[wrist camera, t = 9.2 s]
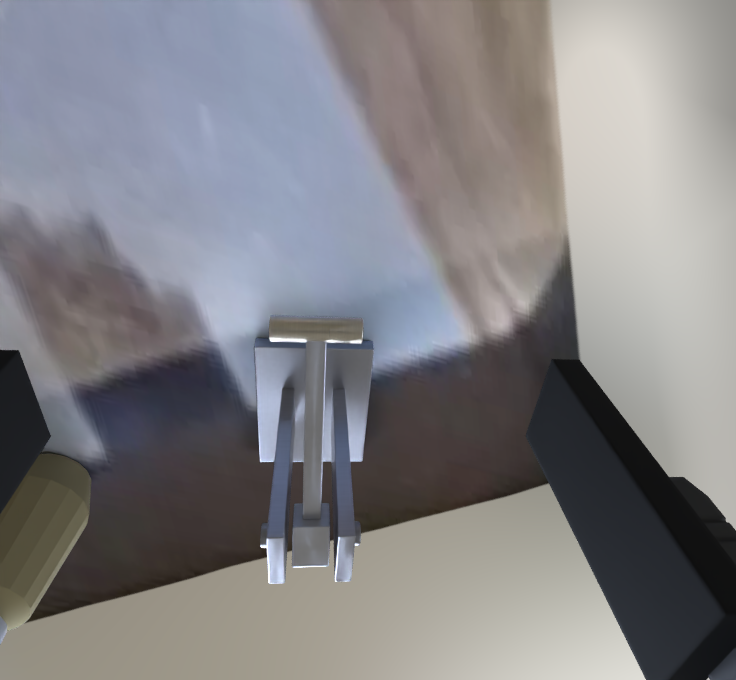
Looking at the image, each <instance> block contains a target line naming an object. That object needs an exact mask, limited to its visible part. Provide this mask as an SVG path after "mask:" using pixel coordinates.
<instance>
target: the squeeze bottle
mask: <svg viewBox="0 0 736 680" xmlns="http://www.w3.org/2000/svg"><path fill="white" fill-rule="evenodd" d="M90 492H91V478H90V476H89V474H88V471H87V470H86V469H85V468H84V467H83V466H81V465H80V464H79V463H78V462H76V461H74V460H72V459H70V458H68V457H66V456H61V455H56V454H51V453H49V454H39V456H38V457H37V459H36V460H35V462H34V463H33V465H32V466H31V468H30V469H29V471H28V472H27V474H26V475H25V477H24V479H23V480H22V482H21V483H20V485H19V486H18V488H17V489H16V491H15V492H14V494H13V495H12V497H11V499H10V500H9V502H8V503H7V505H6V506H5V508H4V509H3V511H2V512H1V514H0V644H1V642H2V640H3V638H4V636H5V634H6V632H7V631H9V630H12V629H14V628H17V627H19V626H21V625H23V624H24V623H25V622H26V621H27V620H28V619H29V618H30V617H31V615H32V613H33V612H34V610H35V608H36V607H37V605H38V604H39V602H40V600H41V599H42V597H43V595H44V594H45V592H46V590H47V589H48V587H49V586H50V584H51V582H52V581H53V579H54V577H55V576H56V574H57V573H58V571H59V569H60V568H61V566H62V564H63V563H64V561H65V559H66V558H67V556H68V555H69V553H70V551H71V550H72V548H73V546H74V545H75V543H76V541H77V540H78V538H79V537H80V535H81V533H82V532H83V530H84V528H85V527H86V525H87V521H88V516H89V508H90Z"/></svg>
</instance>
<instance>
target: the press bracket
mask: <svg viewBox="0 0 736 680" xmlns="http://www.w3.org/2000/svg"><path fill="white" fill-rule="evenodd" d="M254 354H255V374H256V394H257V413H258V433H259V453H260V462H274V470H273V479H272V489H271V499H270V508H269V518H268V523H262V527H261V541H260V543H261V548H267V562H268V582H269V583H285V577H286V560H287V544H288V528H289V512H290V496H291V480H292V464H293V462H304V420H305V372H306V343H303V342H271V341H270V340H269V338H256V341H255V346H254ZM373 356H374V346H373V341H362V343H361V344H346V343H327V345H326V376H325V407H324V438H323V461H331V462H332V499H333V535H334V568H335V570H334V571H335V582H336V581H338V582H339V581H351V575H352V566H353V557H354V548H355V546H356V545H360V541H361V528H360V522H359V521H355V519H354V505H353V491H352V477H351V463H350V461H362V460H363V451H364V441H365V432H366V422H367V413H368V403H369V394H370V385H371V375H372V366H373Z"/></svg>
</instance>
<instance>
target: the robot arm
mask: <svg viewBox="0 0 736 680" xmlns="http://www.w3.org/2000/svg"><path fill="white" fill-rule="evenodd" d="M50 437H51V435H50V432H49V430H48V427H47V424H46V422H45V419H44V416H43V414H42V411H41V408H40V406H39V403H38V400H37V398H36V395H35V392H34V390H33V387H32V384H31V382H30V379H29V376H28V374H27V371H26V368H25V366H24V363H23V360H22V358H21V355H20V352H19V350H0V514H1V512H2V511H3V509H4V508H5V506H6V505H7V503H8V502H9V500H10V499H11V497H12V495H13V494H14V492H15V491H16V489H17V488H18V486H19V485H20V483H21V482H22V480H23V479H24V477H25V475H26V474H27V472H28V471H29V469H30V468H31V466H32V465H33V463H34V462H35V460H36V459H37V457H38V456H39V454H40V452H41V451H42V449H43V448H44V446H45V445H46V443H47V442H48V440H49V439H50ZM526 438H527V440H528V442H529V444H530V446H531V448H532V450H533V452H534V454H535V456H536V458H537V460H538V462H539V464H540V466H541V468H542V470H543V472H544V474H545V476H546V478H547V480H548V482H549V484H550V486H551V488H552V490H553V492H554V494H555V496H556V498H557V500H558V502H559V504H560V506H561V508H562V511H563V512H564V514H565V517H566V519H567V521H568V523H569V525H570V527H571V528H572V531H573V533H574V535H575V537H576V539H577V541H578V543H579V545H580V547H581V549H582V551H583V553H584V555H585V557H586V559H587V561H588V563H589V565H590V567H591V569H592V571H593V573H594V575H595V577H596V579H597V581H598V583H599V585H600V587H601V589H602V591H603V593H604V595H605V597H606V600H607V602H608V603H609V606H610V607H611V609H612V612H613V614H614V616H615V618H616V620H617V622H618V624H619V626H620V628H621V630H622V632H623V634H624V636H625V638H626V640H627V642H628V644H629V646H630V648H631V650H632V652H633V654H634V656H635V658H636V660H637V662H638V664H639V666H640V668H641V670H642V672H643V674H644V676H645V678H646V680H706V679H707V678H708V677H709V679H710V680H736V530H735V529H734V528H733V527H732V525H731V524H730V523H727V522H726V520H725V519H726V518H725V517H724V516H723V515H722V513H721V512H720V511H719V510H718V508H717V507H716V506H715V505H714V503H713V502H712V501H711V500H710V498H709V497H708V496H707V495H706V494H704V493H703V492H702V491H700V490H699V489H698V488H696V487H695V486H694V485H693V484H692V483H690V482H689V481H688V480H686V479H685V478H684V477H668V475H667V474H666V473H665V471H664V470H663V469H662V467H661V466H660V465H659V463H658V462H657V461H656V460H655V458H654V457H653V456H652V454H651V453H650V452H649V450H648V449H647V448H646V447H645V445H644V444H643V443H642V441H641V440H640V439H639V437H638V436H637V435H636V433H635V432H634V431H633V429H632V428H631V427H630V426H629V424H628V423H627V422H626V420H625V419H624V418H623V416H622V415H621V414H620V412H619V411H618V410H617V409H616V407H615V406H614V405H613V403H612V402H611V401H610V399H609V398H608V397H607V395H606V394H605V393H604V392H603V390H602V389H601V388H600V386H599V385H598V384H597V382H596V381H595V380H594V379H593V377H592V376H591V375H590V373H589V372H588V371H587V369H586V368H585V367H584V365H583V364H582V363H581V361H580V360H561V359H552V360H551V363H550V366H549V369H548V372H547V375H546V378H545V381H544V384H543V386H542V389H541V392H540V395H539V398H538V401H537V404H536V407H535V410H534V413H533V416H532V419H531V422H530V425H529V427H528V430H527V433H526Z"/></svg>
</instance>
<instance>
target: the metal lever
mask: <svg viewBox="0 0 736 680" xmlns="http://www.w3.org/2000/svg"><path fill="white" fill-rule="evenodd" d="M269 340H270V341H271V342H303V343H306V372H305V420H304V468H303V504H294V515H293V535H292V567H317V566H329V549H330V548H329V547H330V509H329V503H321V500H322V469H323V438H324V407H325V376H326V345H327V343H346V344H361V343H362V341H363V319H362V318H352V317H318V316H284V315H271V316H270V321H269Z"/></svg>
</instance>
